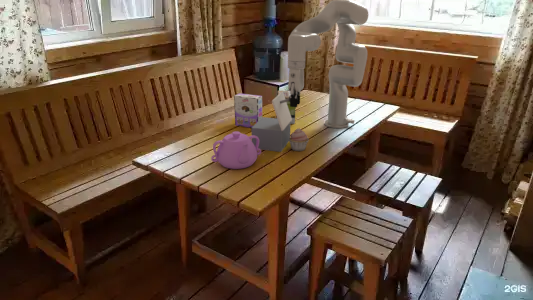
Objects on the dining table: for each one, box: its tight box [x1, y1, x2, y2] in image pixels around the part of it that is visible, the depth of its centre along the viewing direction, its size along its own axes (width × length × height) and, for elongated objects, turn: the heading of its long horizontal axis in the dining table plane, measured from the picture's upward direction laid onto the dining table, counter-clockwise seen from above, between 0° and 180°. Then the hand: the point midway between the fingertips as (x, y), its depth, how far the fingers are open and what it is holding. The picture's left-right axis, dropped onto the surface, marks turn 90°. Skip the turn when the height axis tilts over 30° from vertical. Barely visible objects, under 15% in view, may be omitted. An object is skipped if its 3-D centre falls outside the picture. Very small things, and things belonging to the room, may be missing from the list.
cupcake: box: [288, 127, 310, 152], centre depth 188 cm, size 9×9×10 cm
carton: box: [251, 116, 291, 153], centre depth 194 cm, size 14×16×10 cm
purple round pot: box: [210, 130, 262, 170], centre depth 171 cm, size 22×22×14 cm
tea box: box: [276, 90, 297, 125], centre depth 226 cm, size 15×10×15 cm
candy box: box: [233, 92, 263, 129], centre depth 217 cm, size 14×6×16 cm, turn 65°
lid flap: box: [271, 92, 292, 131], centre depth 186 cm, size 14×16×9 cm
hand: (294, 104), depth 185 cm, fingers closed on lid flap, 4 cm apart
